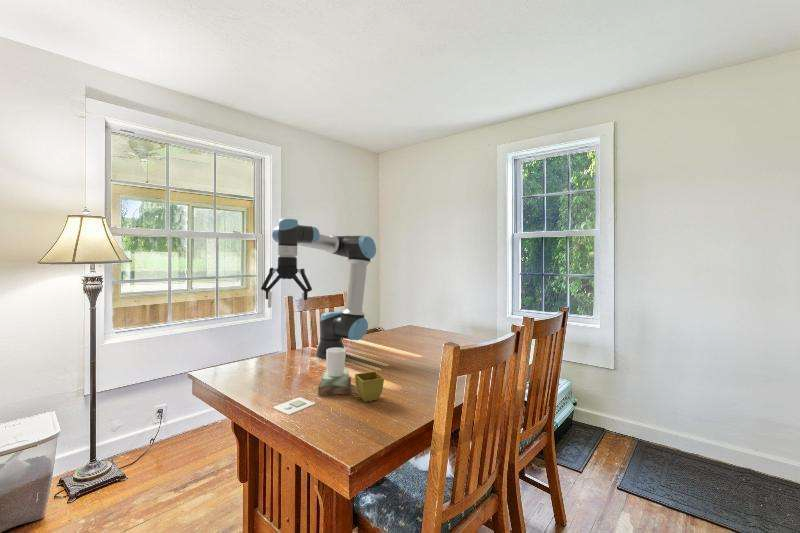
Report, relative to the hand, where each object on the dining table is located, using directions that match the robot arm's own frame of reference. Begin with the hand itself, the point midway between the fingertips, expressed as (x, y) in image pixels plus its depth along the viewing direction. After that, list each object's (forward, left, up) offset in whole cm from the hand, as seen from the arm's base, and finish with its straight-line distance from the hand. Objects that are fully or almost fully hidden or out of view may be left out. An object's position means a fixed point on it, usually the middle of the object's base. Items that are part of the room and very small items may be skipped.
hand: (286, 307), depth 152 cm
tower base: (-15, +17, -32) cm, 39 cm away
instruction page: (+4, +24, -32) cm, 40 cm away
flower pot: (-22, +32, -32) cm, 50 cm away
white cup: (-15, +16, -26) cm, 34 cm away
